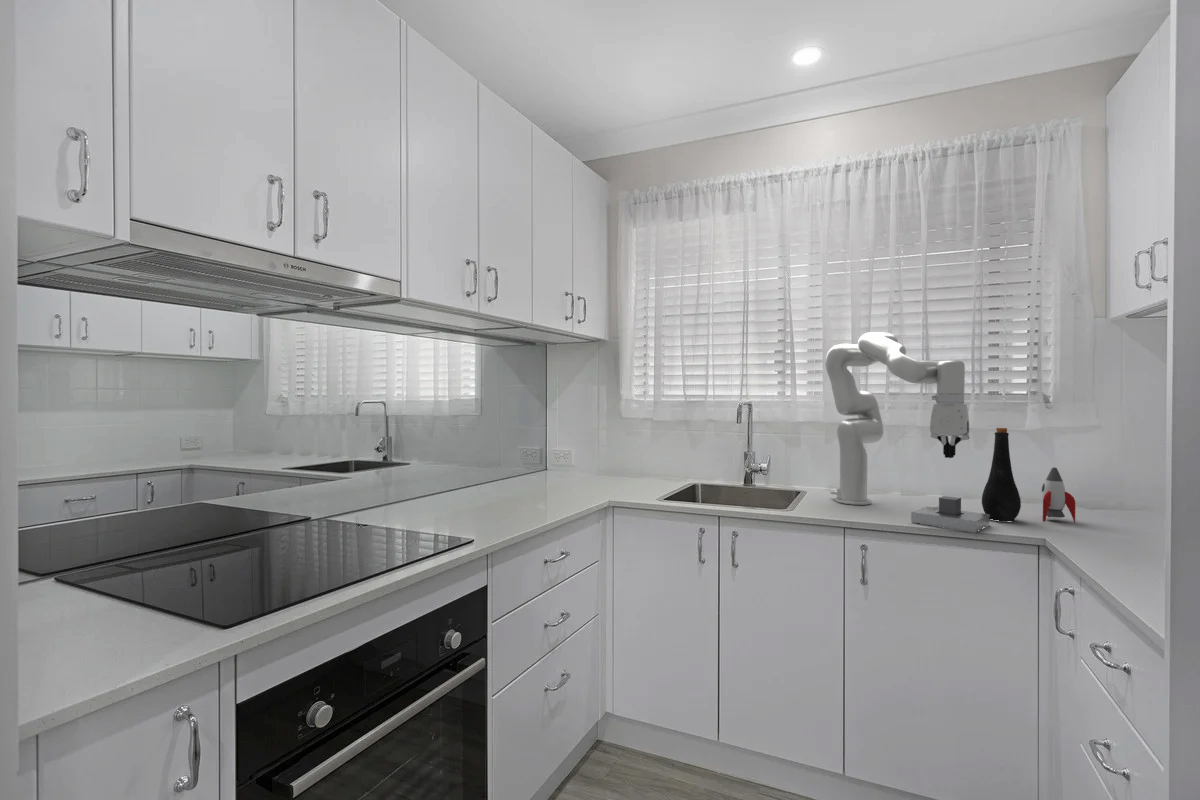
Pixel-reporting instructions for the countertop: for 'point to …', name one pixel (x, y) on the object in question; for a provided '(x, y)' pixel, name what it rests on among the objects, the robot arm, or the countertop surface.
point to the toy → (1056, 496)
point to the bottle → (1001, 483)
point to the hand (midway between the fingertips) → (949, 457)
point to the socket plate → (950, 519)
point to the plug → (950, 506)
